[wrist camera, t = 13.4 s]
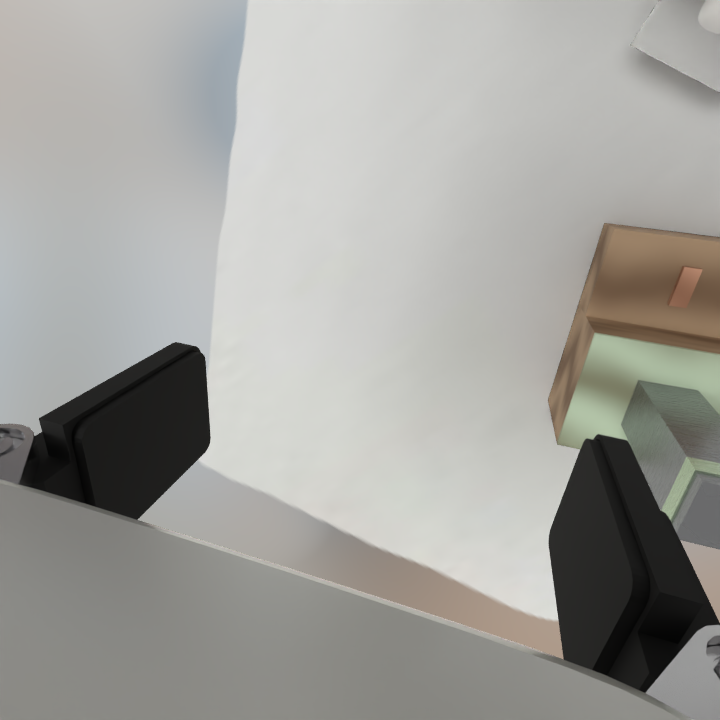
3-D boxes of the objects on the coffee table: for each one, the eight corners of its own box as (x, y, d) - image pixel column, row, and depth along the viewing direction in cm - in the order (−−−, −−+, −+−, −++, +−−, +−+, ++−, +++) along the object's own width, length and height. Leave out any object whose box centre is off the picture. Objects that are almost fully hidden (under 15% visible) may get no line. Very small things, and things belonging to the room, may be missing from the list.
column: (637, 378, 33) (701, 479, 23) (700, 389, 32) (797, 499, 22) (619, 425, 35) (671, 539, 25) (678, 437, 34) (758, 560, 24)
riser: (604, 222, 37) (628, 237, 30) (772, 244, 34) (840, 264, 27) (547, 400, 44) (557, 444, 37) (682, 427, 41) (719, 480, 35)
